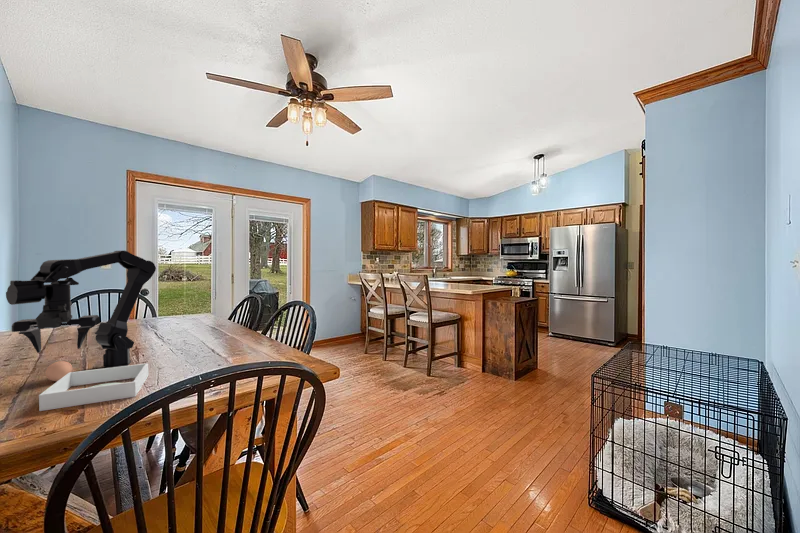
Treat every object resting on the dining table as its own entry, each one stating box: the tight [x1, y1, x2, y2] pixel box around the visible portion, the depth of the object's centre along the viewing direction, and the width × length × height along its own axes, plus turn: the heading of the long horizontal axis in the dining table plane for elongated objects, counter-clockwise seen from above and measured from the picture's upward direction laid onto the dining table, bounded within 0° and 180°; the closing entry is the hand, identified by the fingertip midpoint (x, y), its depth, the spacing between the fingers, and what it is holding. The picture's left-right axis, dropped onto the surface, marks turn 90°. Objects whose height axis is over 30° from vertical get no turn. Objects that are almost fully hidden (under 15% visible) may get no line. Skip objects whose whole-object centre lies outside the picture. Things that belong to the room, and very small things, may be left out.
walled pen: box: [38, 362, 149, 412], centre depth 98 cm, size 19×19×4 cm
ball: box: [45, 360, 74, 382], centre depth 106 cm, size 6×6×6 cm
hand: (59, 350), depth 106 cm, fingers open, 9 cm apart
